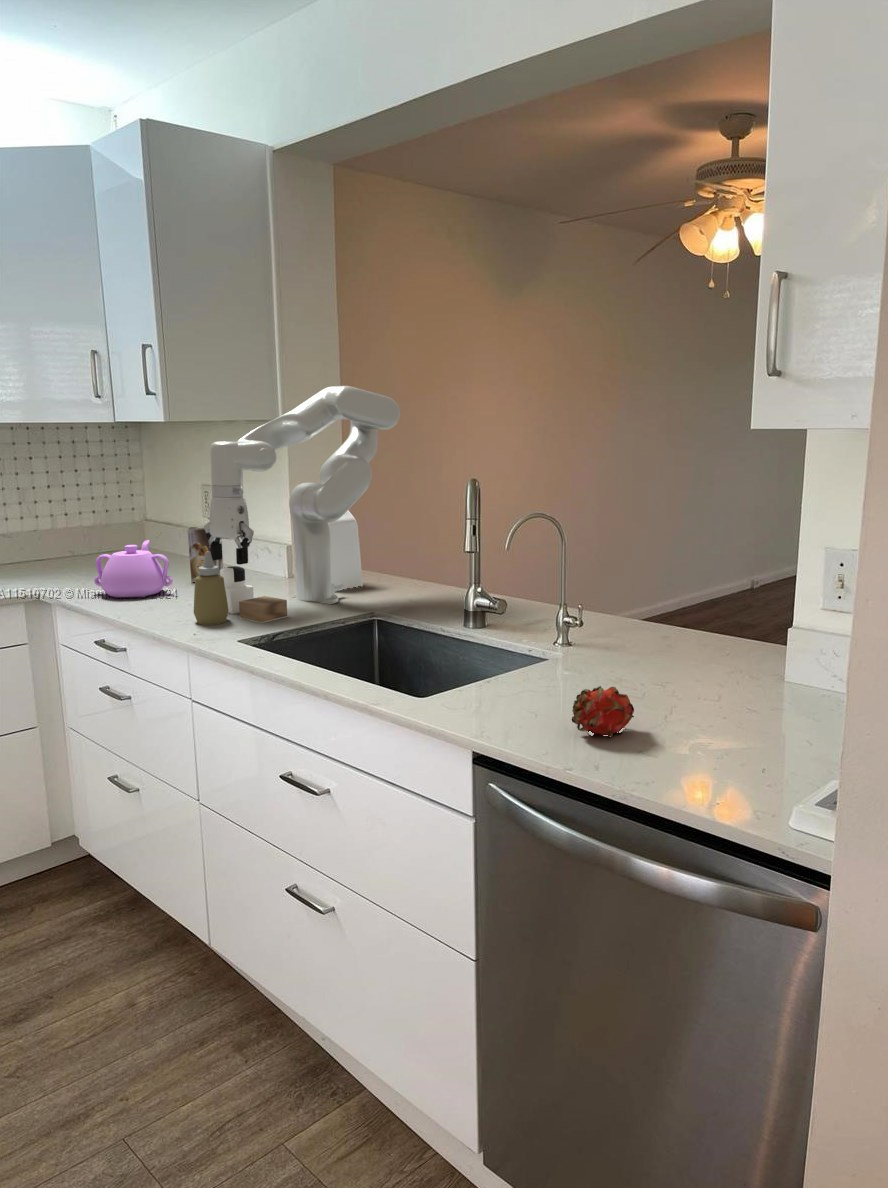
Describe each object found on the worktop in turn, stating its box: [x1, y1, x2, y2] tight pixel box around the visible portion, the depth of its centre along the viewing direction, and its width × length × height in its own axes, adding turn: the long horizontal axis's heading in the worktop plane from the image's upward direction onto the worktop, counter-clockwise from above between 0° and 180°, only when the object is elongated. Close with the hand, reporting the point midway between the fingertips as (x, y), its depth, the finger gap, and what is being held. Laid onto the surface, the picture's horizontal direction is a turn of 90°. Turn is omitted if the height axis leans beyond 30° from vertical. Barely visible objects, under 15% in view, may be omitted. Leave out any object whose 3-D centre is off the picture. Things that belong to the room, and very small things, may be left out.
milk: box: [328, 509, 364, 590], centre depth 261 cm, size 12×12×26 cm
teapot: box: [94, 539, 174, 598], centre depth 255 cm, size 22×22×14 cm
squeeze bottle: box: [193, 551, 229, 626], centre depth 214 cm, size 8×8×18 cm
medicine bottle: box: [220, 565, 255, 615], centre depth 228 cm, size 7×7×12 cm
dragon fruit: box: [571, 685, 635, 737], centre depth 144 cm, size 8×8×12 cm
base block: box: [239, 595, 288, 623], centre depth 220 cm, size 8×8×4 cm
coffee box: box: [187, 526, 224, 583], centre depth 272 cm, size 9×6×16 cm
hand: (229, 561), depth 226 cm, fingers open, 9 cm apart
